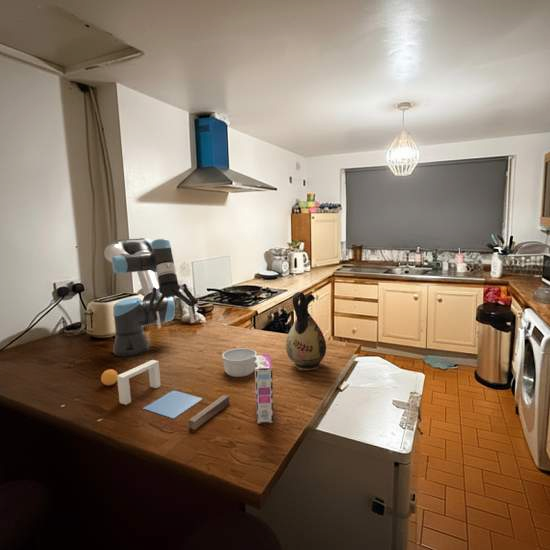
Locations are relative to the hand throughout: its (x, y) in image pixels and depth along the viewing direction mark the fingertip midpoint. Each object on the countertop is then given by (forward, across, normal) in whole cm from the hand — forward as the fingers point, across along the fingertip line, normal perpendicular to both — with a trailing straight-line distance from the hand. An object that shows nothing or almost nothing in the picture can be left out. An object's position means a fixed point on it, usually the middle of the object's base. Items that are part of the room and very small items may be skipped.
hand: (176, 325), depth 143 cm
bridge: (+22, -19, -10) cm, 31 cm away
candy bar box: (+37, +8, -42) cm, 56 cm away
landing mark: (+28, -12, -22) cm, 37 cm away
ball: (+14, -27, +2) cm, 30 cm away
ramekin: (+24, +17, -13) cm, 32 cm away
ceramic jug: (+29, +39, -24) cm, 54 cm away
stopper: (+33, -5, -34) cm, 48 cm away
